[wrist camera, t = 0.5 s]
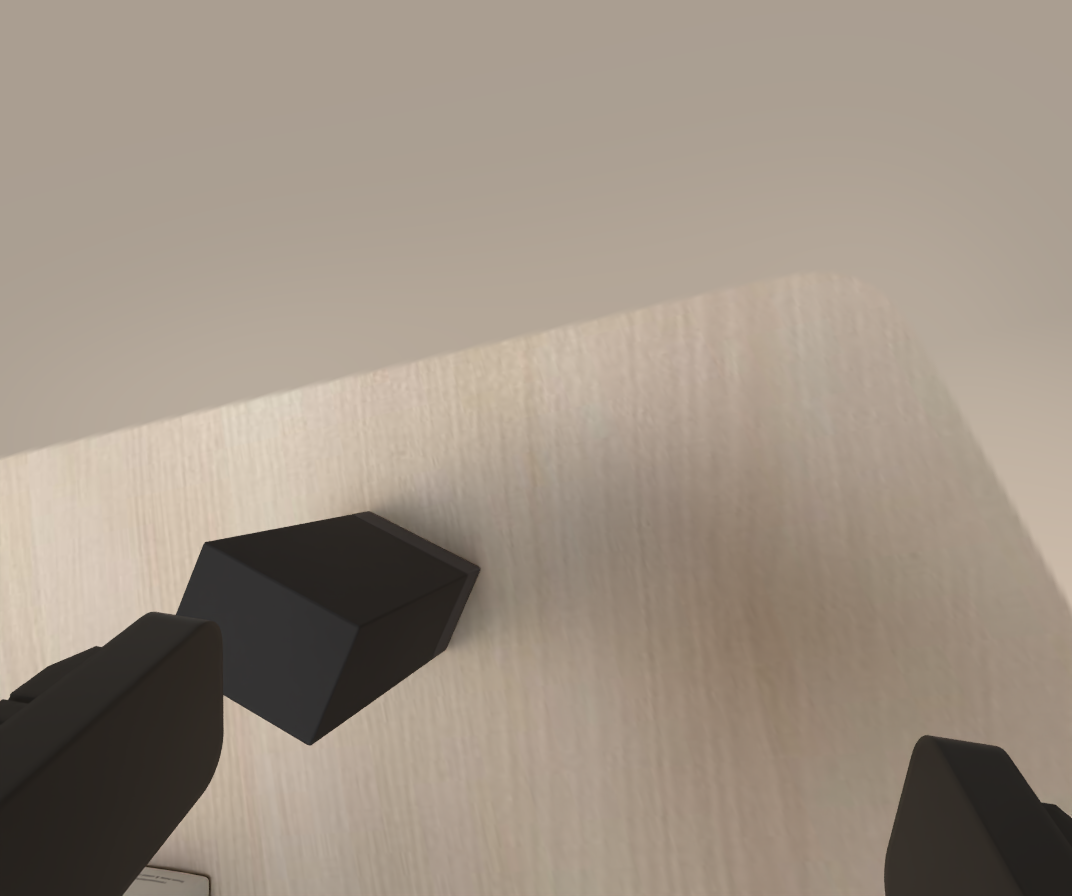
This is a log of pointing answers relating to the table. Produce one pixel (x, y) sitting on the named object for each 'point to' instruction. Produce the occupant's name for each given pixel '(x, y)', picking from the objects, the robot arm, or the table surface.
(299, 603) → the eraser
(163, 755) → the robot arm
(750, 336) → the table surface
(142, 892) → the ink box
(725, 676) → the table surface
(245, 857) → the table surface
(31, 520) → the table surface
